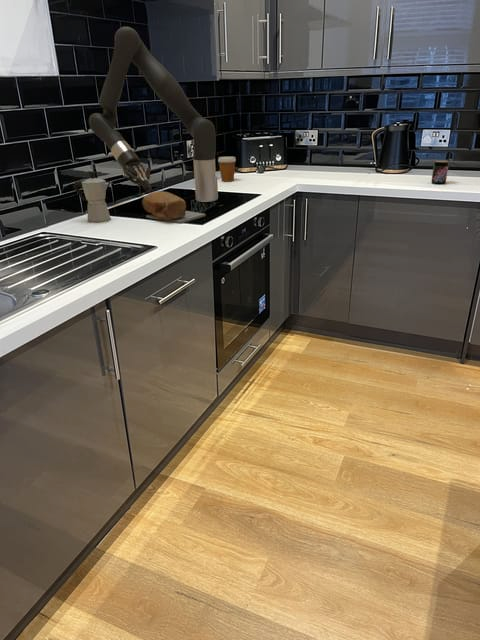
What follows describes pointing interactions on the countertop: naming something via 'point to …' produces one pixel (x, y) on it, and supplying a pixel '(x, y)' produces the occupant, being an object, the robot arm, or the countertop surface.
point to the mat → (186, 218)
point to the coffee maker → (94, 198)
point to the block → (164, 205)
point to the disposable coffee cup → (227, 168)
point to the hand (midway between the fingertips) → (149, 190)
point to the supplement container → (440, 172)
